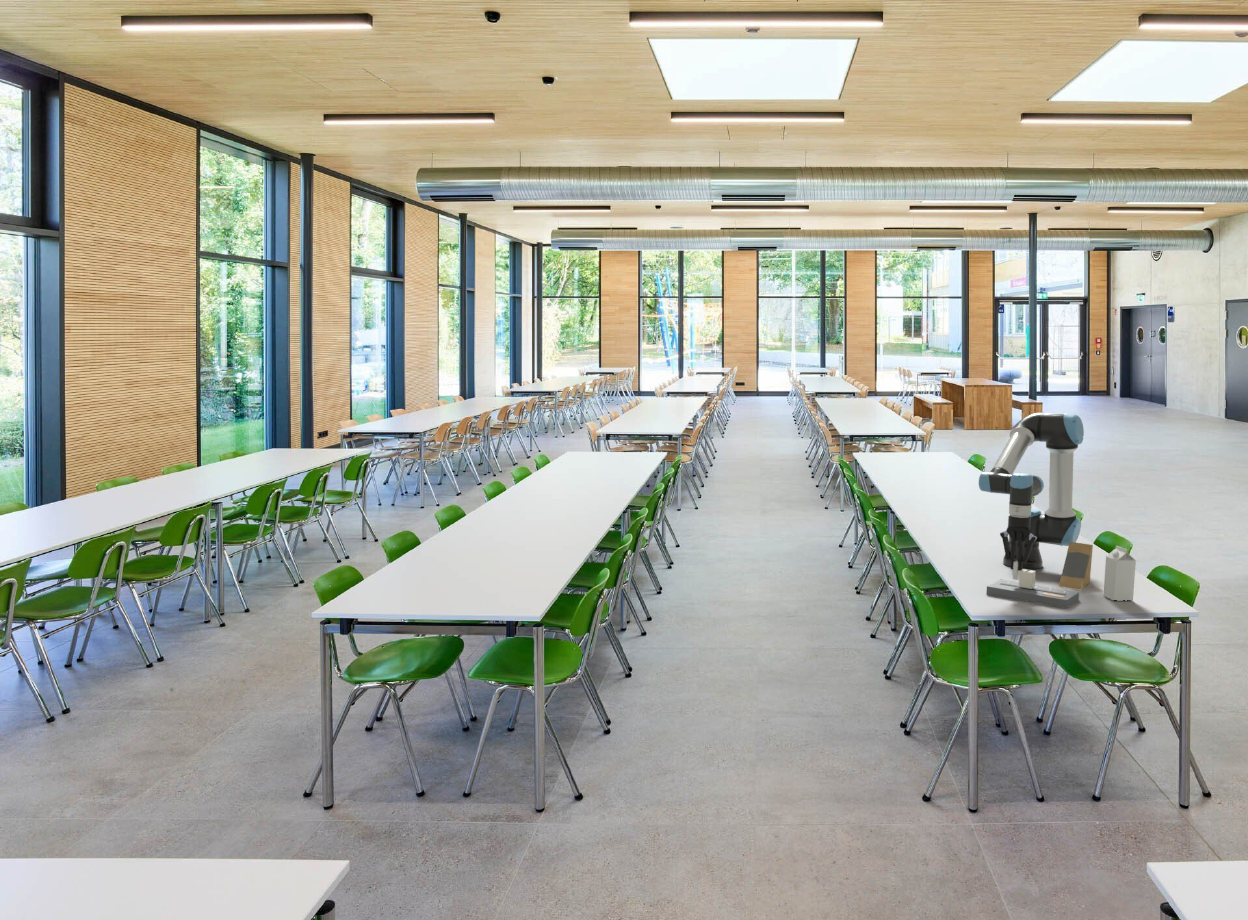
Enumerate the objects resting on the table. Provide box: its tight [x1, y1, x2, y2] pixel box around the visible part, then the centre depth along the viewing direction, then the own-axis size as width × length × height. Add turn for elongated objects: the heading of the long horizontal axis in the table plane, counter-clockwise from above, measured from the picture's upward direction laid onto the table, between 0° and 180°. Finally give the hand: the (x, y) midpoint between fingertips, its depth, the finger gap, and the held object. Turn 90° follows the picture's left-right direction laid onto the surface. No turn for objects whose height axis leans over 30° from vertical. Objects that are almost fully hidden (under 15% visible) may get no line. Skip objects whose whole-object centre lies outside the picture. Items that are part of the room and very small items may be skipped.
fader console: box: [986, 578, 1080, 609], centre depth 344 cm, size 14×28×3 cm, turn 48°
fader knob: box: [1018, 569, 1037, 589], centre depth 345 cm, size 4×4×6 cm
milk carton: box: [1103, 545, 1137, 602], centre depth 341 cm, size 7×7×19 cm
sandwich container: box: [1058, 542, 1094, 591], centre depth 362 cm, size 9×15×15 cm, turn 143°
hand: (1016, 578), depth 347 cm, fingers closed
